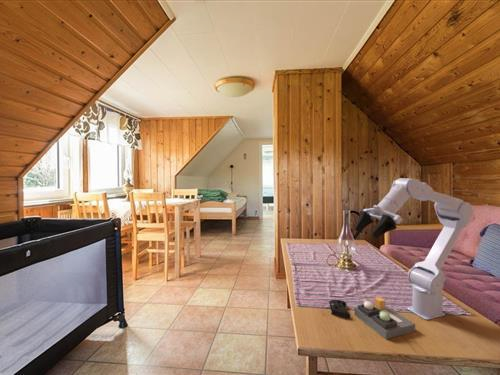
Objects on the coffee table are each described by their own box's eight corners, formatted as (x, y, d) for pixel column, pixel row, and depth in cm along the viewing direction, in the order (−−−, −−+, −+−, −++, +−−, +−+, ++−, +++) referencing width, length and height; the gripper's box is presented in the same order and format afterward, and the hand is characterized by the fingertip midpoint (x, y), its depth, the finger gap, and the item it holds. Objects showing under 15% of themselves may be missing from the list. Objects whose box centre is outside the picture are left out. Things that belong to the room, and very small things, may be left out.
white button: (368, 305, 90) (368, 300, 90) (375, 309, 87) (375, 304, 87) (362, 306, 89) (362, 301, 89) (368, 311, 86) (368, 306, 86)
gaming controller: (352, 317, 88) (339, 304, 88) (340, 326, 89) (328, 314, 89) (347, 303, 97) (335, 291, 98) (336, 311, 98) (325, 300, 99)
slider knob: (379, 304, 92) (379, 297, 91) (384, 308, 89) (385, 300, 89) (374, 306, 91) (374, 298, 91) (379, 309, 89) (379, 301, 88)
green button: (384, 316, 83) (384, 310, 83) (392, 321, 80) (392, 315, 80) (377, 317, 82) (377, 312, 82) (384, 322, 79) (385, 317, 79)
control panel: (380, 308, 94) (380, 298, 94) (414, 331, 81) (415, 319, 81) (354, 314, 91) (354, 304, 90) (386, 339, 77) (386, 327, 77)
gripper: (367, 194, 89) (343, 220, 87) (403, 198, 75) (376, 229, 73) (377, 208, 91) (354, 234, 89) (414, 214, 77) (387, 245, 75)
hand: (364, 233), depth 81 cm, fingers open, 7 cm apart
